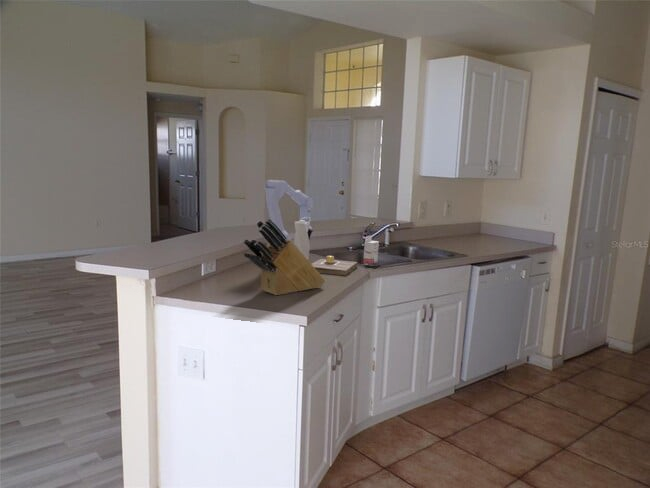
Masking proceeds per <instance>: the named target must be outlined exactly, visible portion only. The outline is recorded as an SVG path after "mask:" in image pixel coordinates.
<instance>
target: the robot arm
mask: <svg viewBox="0 0 650 488" xmlns="http://www.w3.org/2000/svg"><path fill="white" fill-rule="evenodd" d="M263 188H264V192H265V202H266V205H267V206H266V207H267V211H268V214H269V219H270V220H271V221H272V222H273V223H274V224H275V225H276V226H277V227H278V228H279V229H280V230H281V232H282V233H283V234H284V235H285V237H286V238H287V240H290V241H292V238H291V237H290V234H289V233H288V232H287V231H286V229H285V227H284V223H283V218H282V214H281V209H280V206H279V200H280V199H282V198H283V196H284V195H285V194H287V195H289V196H290V197H291V200H292V201H294V202H295V203H297V205H298V207H299V220H301V219H302V218H304V217H310V218H311V211H312V207H313V205H314V201H313V198H312V197H310V196H307V195H306V194H305V193H303V192H302V190H300V189H296V190H295V188H293V187H292V186H291V185H289V183H288V182H287V181H285V180H274V179H268V180H267V181H266V182H265V184H264V187H263ZM310 218H304V219H302V220H304V221H305V222H309V220H310ZM310 221H311V220H310ZM313 232H314V231H313V227H312V226H311V223H310V224H309V228H308V232H307V233H308V238H309V240H311V239H310V238H311V235H312V234H313Z"/></svg>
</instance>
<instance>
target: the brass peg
mask: <svg viewBox="0 0 650 488" xmlns="http://www.w3.org/2000/svg"><path fill="white" fill-rule="evenodd" d="M325 258H326V264H334V260H335V256H334V255H326V256H325Z"/></svg>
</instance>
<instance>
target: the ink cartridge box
mask: <svg viewBox="0 0 650 488" xmlns="http://www.w3.org/2000/svg"><path fill="white" fill-rule="evenodd" d="M372 239H373V235H366V236H365V238H364V247H363V264H367V265H373V264H375V263H378V262H379V261H378V260H379V258H378V257H379V248H380V247H379V245H380V244H379V243H380V241H377V240H372Z"/></svg>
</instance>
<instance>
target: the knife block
mask: <svg viewBox="0 0 650 488" xmlns="http://www.w3.org/2000/svg"><path fill="white" fill-rule="evenodd" d="M256 226H257V227H258V229H257V231H258V232H259V233H260V234H261V235H262V236H263V238H264V239H265V240H266V241H267V243H269V245H268V246H267V245H266V244H265V243H263V242H261V241H257V240H256V239H252V240H251V241H250V240H248V239H247V238H246V239H243V241H242V242H243V244H245V246H246V247H247V248H249V250H250V251H251V252H252V253H253V254H251V253H247V252H244V258H247V259H248V260H249V261H250V262H252V264H254V265H256V267H258V268H259V269H260V272H261V273H260V275H261V276H260V277H261V278H260V280H261V282H260V283H261V290H262V291H264V292H265V293H266V292H267V293H269V294H273V295H275V296H276V295H279V296H280V295H284V294H290V293H295V292H298V291H299V292H300V291H301V292H302V291H306V290H311V289H318V288H322V287H323V285H324V283H325V282H326V280H325V279H324V277H323V276H322V275H321V273H318V272H317V270H316V269H315V268H314V267H313V266H312V263H311V262H310V260H309V259H308V260H307V258H306V257H305V256H304V255H303V254H302V252H301V251H300V250H299V249H298V248H297V247H296V245H295V244H294V241H292V240H291V241H290V240H287V238H286V237H285V235H284V234H283V233H282V232H281V230H280V229H279V228H278V227H277V226H276V225H275V224H274V223H273V222H272V221H271V219H270V218H267V219H266V220H265V221H264V222H262V221H261V220H260V221H258V222H257V223H256Z"/></svg>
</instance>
